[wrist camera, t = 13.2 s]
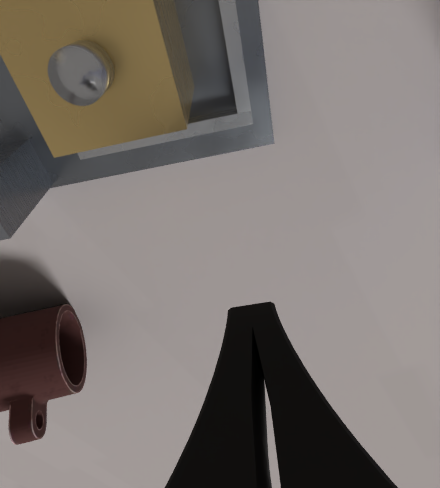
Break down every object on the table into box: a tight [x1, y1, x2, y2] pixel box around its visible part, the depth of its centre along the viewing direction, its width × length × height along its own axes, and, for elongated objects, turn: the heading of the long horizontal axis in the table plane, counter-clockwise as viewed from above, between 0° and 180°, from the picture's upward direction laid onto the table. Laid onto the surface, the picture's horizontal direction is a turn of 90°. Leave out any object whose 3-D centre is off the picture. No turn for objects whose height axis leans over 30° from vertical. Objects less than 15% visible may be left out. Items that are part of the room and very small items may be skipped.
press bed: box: [0, 0, 274, 240], centre depth 13 cm, size 14×10×7 cm
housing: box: [0, 0, 194, 158], centre depth 12 cm, size 4×4×7 cm
